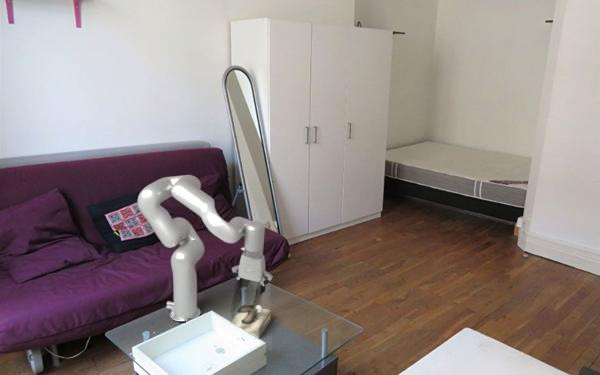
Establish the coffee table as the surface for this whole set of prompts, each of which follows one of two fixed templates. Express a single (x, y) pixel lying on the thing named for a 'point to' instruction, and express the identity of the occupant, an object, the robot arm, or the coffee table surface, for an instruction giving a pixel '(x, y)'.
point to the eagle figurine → (249, 312)
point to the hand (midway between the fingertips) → (250, 290)
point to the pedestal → (254, 322)
